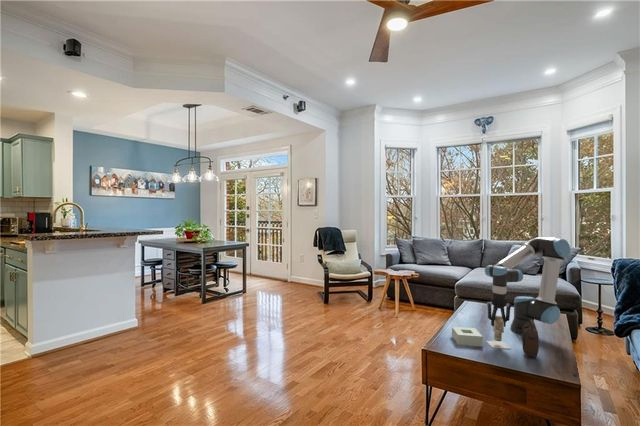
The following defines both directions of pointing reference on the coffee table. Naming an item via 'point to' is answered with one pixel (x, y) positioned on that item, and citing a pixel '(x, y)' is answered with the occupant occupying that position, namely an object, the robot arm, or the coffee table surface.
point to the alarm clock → (530, 340)
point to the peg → (498, 328)
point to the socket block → (467, 336)
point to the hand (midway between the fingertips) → (498, 331)
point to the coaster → (497, 344)
